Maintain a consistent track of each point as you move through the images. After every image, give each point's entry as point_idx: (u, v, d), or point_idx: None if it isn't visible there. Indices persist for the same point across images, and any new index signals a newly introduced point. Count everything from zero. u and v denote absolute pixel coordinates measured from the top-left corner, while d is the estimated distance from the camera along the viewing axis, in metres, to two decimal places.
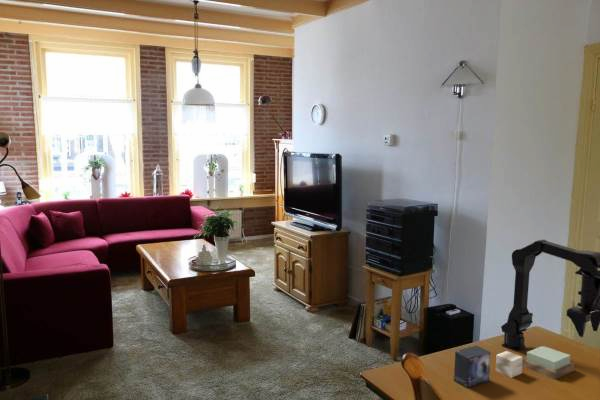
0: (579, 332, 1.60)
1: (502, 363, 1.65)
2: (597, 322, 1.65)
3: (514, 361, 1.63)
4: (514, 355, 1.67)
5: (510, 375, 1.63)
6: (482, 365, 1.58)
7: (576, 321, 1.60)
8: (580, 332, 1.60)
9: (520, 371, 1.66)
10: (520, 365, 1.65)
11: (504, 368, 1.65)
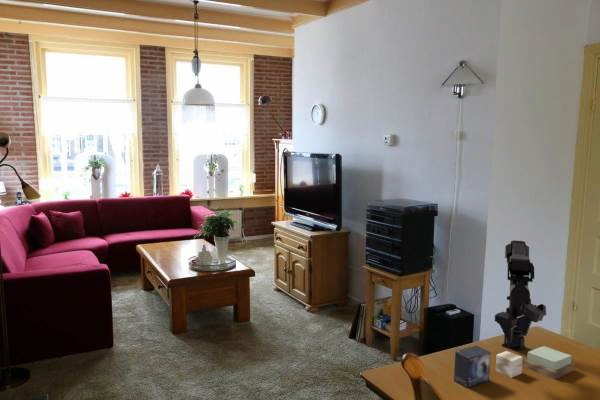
0: (507, 337, 1.62)
1: (502, 363, 1.65)
2: (526, 327, 1.67)
3: (514, 361, 1.63)
4: (514, 355, 1.67)
5: (510, 375, 1.63)
6: (482, 365, 1.58)
7: (504, 326, 1.62)
8: (508, 337, 1.62)
9: (520, 371, 1.66)
10: (520, 365, 1.65)
11: (504, 368, 1.65)
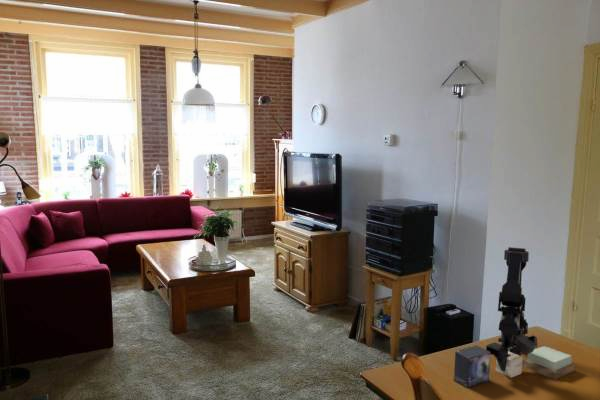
0: (501, 366, 1.65)
1: None
2: None
3: (514, 361, 1.63)
4: (514, 355, 1.67)
5: (510, 375, 1.63)
6: (482, 365, 1.58)
7: None
8: (502, 366, 1.65)
9: (520, 371, 1.66)
10: (520, 365, 1.65)
11: None
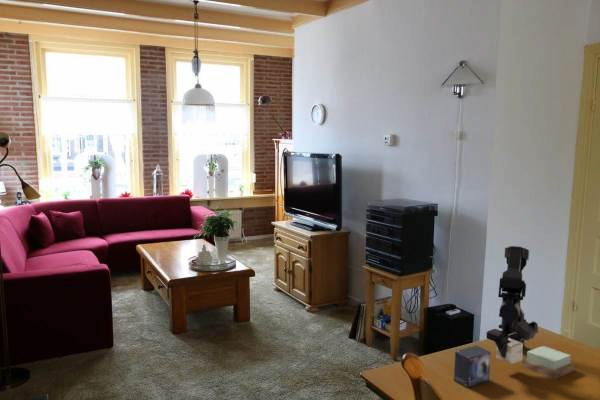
0: (501, 353, 1.64)
1: None
2: None
3: (515, 347, 1.63)
4: (515, 341, 1.66)
5: (511, 361, 1.63)
6: (482, 365, 1.58)
7: (498, 342, 1.64)
8: (502, 353, 1.64)
9: (521, 357, 1.65)
10: (521, 351, 1.65)
11: None
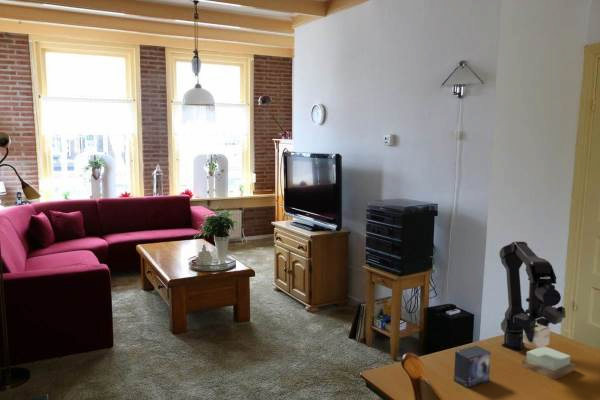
0: (528, 337, 1.66)
1: None
2: None
3: (542, 331, 1.64)
4: (541, 326, 1.67)
5: (538, 345, 1.64)
6: (482, 365, 1.58)
7: (525, 326, 1.66)
8: (529, 337, 1.65)
9: (547, 342, 1.66)
10: (548, 336, 1.66)
11: None
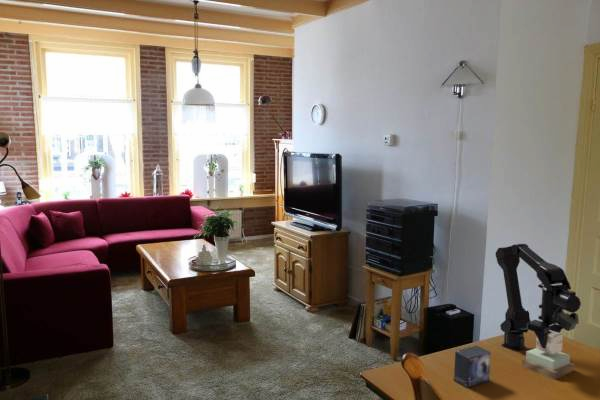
0: (542, 343, 1.67)
1: None
2: None
3: (555, 338, 1.65)
4: (554, 332, 1.68)
5: (551, 352, 1.65)
6: (482, 365, 1.58)
7: (539, 333, 1.67)
8: (542, 343, 1.66)
9: (560, 348, 1.67)
10: (560, 342, 1.67)
11: None
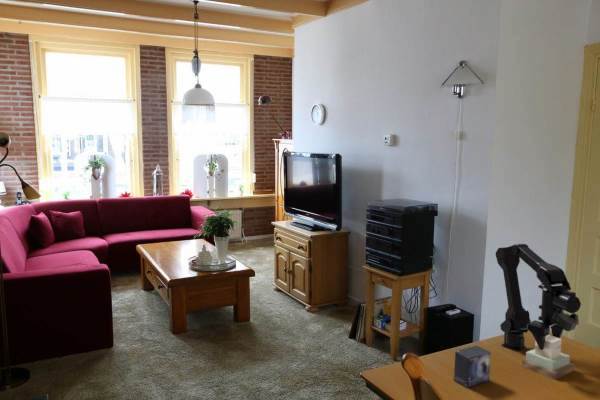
0: (539, 345, 1.66)
1: None
2: (558, 335, 1.70)
3: (554, 343, 1.65)
4: (553, 337, 1.69)
5: (550, 357, 1.65)
6: (482, 365, 1.58)
7: (536, 334, 1.66)
8: (540, 345, 1.66)
9: (559, 353, 1.67)
10: (559, 347, 1.67)
11: (544, 350, 1.67)
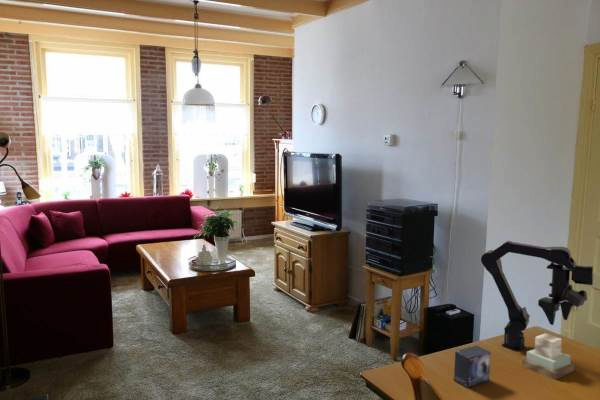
0: (550, 320, 1.76)
1: (542, 344, 1.67)
2: (567, 311, 1.80)
3: (554, 342, 1.65)
4: (553, 337, 1.68)
5: (550, 356, 1.65)
6: (482, 365, 1.58)
7: (547, 310, 1.76)
8: (551, 320, 1.75)
9: (559, 353, 1.67)
10: (559, 347, 1.67)
11: (544, 349, 1.66)
